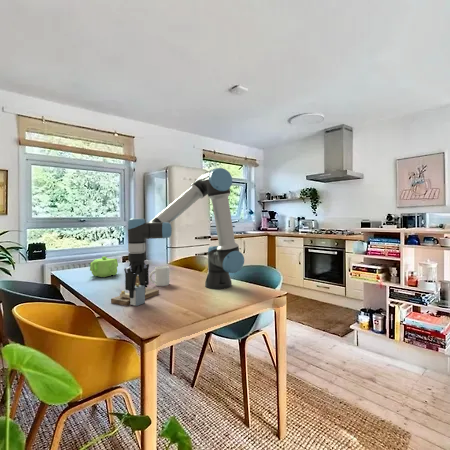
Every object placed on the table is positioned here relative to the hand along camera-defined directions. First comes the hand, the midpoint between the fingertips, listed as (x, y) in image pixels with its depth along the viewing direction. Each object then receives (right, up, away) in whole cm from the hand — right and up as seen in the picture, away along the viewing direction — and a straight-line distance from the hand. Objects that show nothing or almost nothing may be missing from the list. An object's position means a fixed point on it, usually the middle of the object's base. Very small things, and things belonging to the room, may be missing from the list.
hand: (137, 302), depth 133 cm
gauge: (-4, 0, +2) cm, 4 cm away
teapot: (-40, +1, +62) cm, 74 cm away
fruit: (-8, 0, +25) cm, 27 cm away
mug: (+2, 0, +36) cm, 36 cm away
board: (-4, 0, +10) cm, 10 cm away
